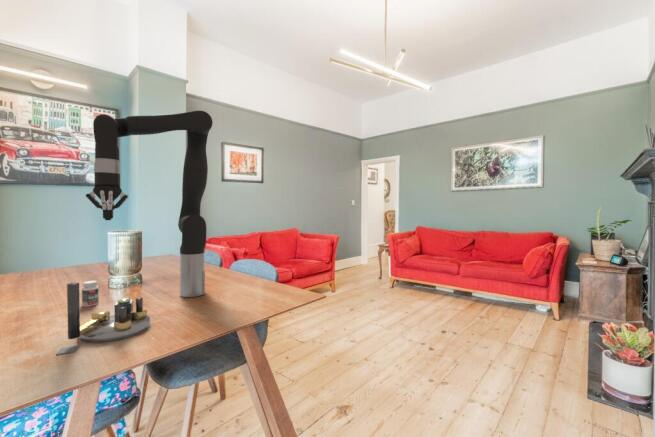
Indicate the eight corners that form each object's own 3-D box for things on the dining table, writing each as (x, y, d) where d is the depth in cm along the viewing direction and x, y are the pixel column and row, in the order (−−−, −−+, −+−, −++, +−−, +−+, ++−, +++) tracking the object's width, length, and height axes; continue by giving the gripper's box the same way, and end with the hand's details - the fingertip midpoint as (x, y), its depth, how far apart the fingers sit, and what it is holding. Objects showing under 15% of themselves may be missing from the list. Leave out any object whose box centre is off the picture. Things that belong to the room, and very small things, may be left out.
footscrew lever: (97, 317, 91) (96, 271, 91) (112, 316, 92) (112, 271, 92) (61, 339, 76) (60, 285, 76) (80, 338, 77) (79, 284, 76)
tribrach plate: (152, 316, 99) (152, 289, 99) (146, 336, 84) (146, 305, 84) (88, 323, 92) (88, 295, 92) (69, 347, 77) (68, 314, 76)
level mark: (79, 346, 78) (79, 345, 78) (74, 352, 74) (74, 351, 74) (61, 348, 76) (61, 347, 76) (55, 355, 73) (55, 354, 73)
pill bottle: (89, 307, 107) (89, 284, 106) (78, 306, 108) (78, 283, 107) (101, 303, 111) (101, 280, 111) (91, 302, 112) (91, 280, 112)
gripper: (130, 174, 115) (131, 219, 115) (87, 172, 109) (88, 219, 110) (127, 172, 108) (127, 220, 108) (81, 170, 102) (82, 220, 103)
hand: (108, 220), depth 109 cm, fingers closed
